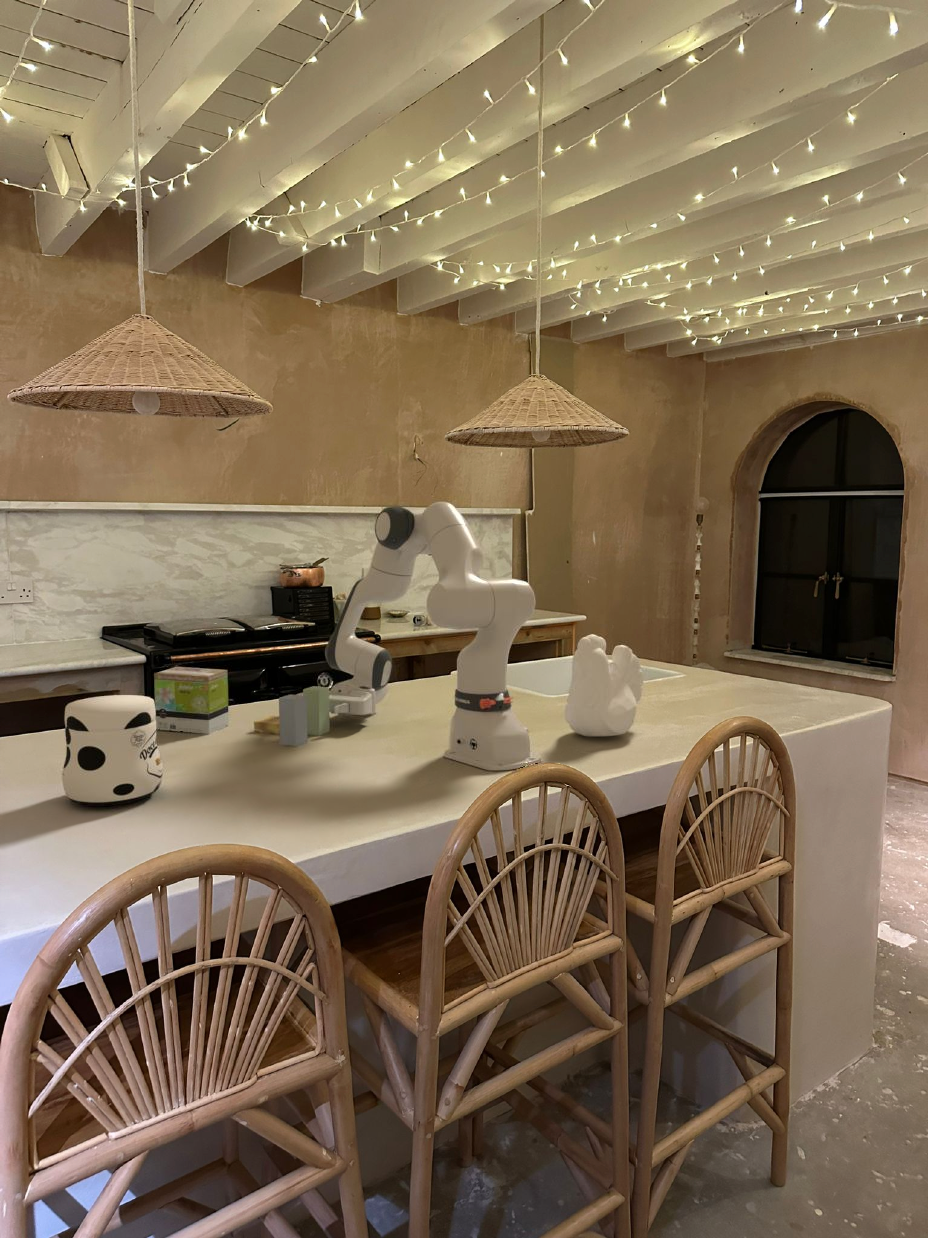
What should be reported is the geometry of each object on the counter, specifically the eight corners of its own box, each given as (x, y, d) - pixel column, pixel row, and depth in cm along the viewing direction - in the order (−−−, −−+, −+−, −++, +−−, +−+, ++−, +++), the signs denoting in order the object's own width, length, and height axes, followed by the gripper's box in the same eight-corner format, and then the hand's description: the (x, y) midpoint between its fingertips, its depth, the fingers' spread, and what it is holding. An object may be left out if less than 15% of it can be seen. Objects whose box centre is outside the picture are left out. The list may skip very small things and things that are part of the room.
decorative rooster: (590, 747, 196) (592, 640, 193) (549, 733, 210) (551, 632, 207) (671, 734, 208) (674, 633, 206) (628, 721, 222) (630, 626, 219)
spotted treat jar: (181, 796, 161) (177, 702, 159) (89, 820, 148) (85, 717, 146) (135, 778, 172) (132, 690, 170) (47, 798, 159) (42, 703, 157)
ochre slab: (294, 728, 214) (294, 718, 214) (277, 734, 208) (277, 724, 208) (271, 725, 217) (271, 715, 217) (254, 731, 211) (253, 721, 211)
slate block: (307, 742, 201) (306, 696, 200) (296, 746, 197) (295, 699, 196) (291, 740, 203) (290, 694, 201) (279, 744, 199) (278, 698, 197)
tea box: (154, 731, 211) (152, 672, 210) (177, 722, 221) (175, 665, 219) (209, 735, 208) (207, 674, 206) (230, 725, 217) (228, 668, 216)
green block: (329, 731, 211) (329, 687, 210) (319, 735, 207) (318, 690, 206) (314, 729, 213) (313, 686, 212) (303, 733, 209) (303, 689, 208)
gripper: (312, 683, 226) (281, 692, 213) (380, 689, 217) (351, 699, 205) (312, 706, 226) (281, 717, 214) (380, 713, 218) (352, 725, 206)
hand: (316, 708), depth 209 cm, fingers open, 8 cm apart
